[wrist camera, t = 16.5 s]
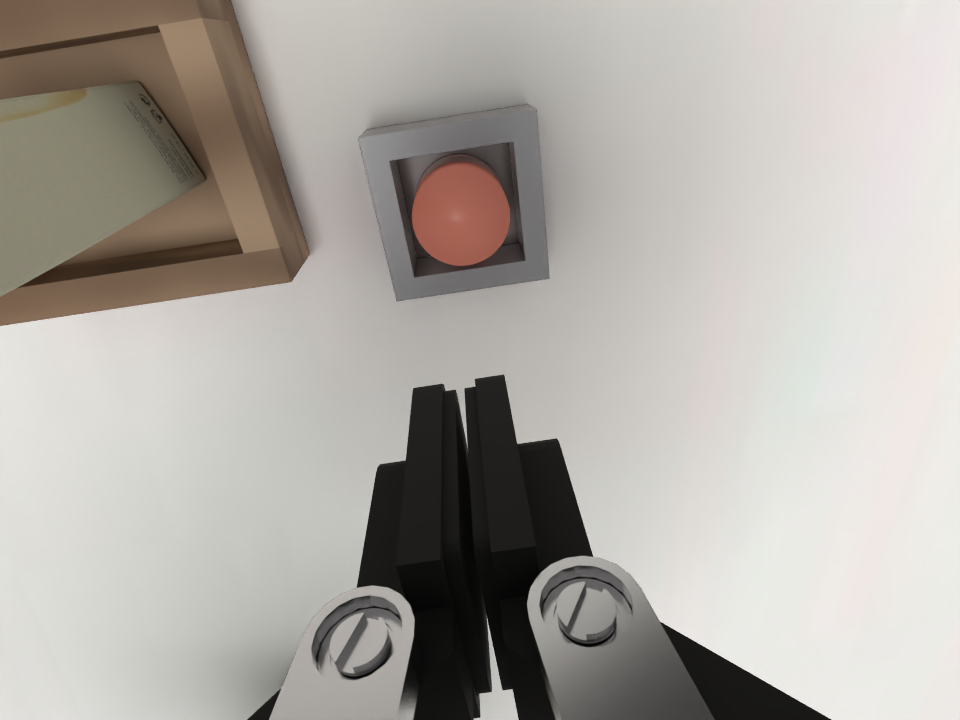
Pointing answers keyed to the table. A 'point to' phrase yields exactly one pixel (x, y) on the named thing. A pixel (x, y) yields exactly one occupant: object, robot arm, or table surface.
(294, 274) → the tray
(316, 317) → the table surface
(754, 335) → the table surface
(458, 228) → the button
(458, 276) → the button housing
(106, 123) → the skincare box
